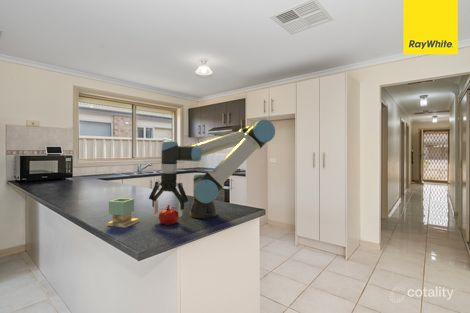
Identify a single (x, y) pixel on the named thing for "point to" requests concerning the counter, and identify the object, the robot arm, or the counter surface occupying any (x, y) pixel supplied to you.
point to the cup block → (121, 206)
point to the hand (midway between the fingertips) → (167, 214)
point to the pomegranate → (168, 216)
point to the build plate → (133, 220)
